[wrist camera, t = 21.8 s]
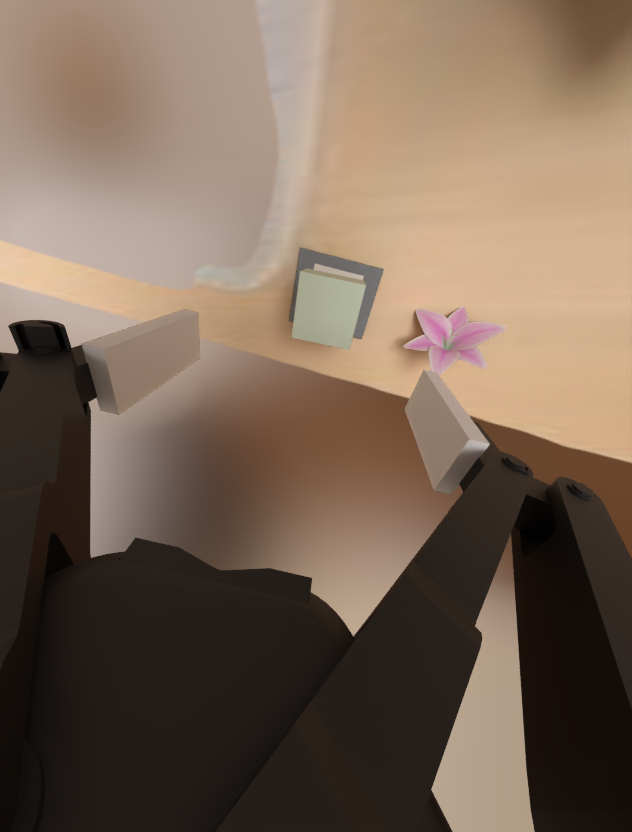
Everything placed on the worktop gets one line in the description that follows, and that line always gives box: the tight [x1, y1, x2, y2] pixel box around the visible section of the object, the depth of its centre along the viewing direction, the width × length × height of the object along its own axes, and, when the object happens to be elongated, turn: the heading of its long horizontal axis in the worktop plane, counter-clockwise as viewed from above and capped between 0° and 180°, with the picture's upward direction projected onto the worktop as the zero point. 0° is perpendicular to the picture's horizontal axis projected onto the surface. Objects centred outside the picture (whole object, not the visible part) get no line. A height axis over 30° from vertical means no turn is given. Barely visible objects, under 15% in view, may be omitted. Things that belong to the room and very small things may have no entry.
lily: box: [404, 307, 507, 375], centre depth 38 cm, size 12×12×10 cm
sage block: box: [292, 269, 366, 350], centre depth 31 cm, size 7×7×6 cm
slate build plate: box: [289, 248, 383, 339], centre depth 39 cm, size 10×12×1 cm
